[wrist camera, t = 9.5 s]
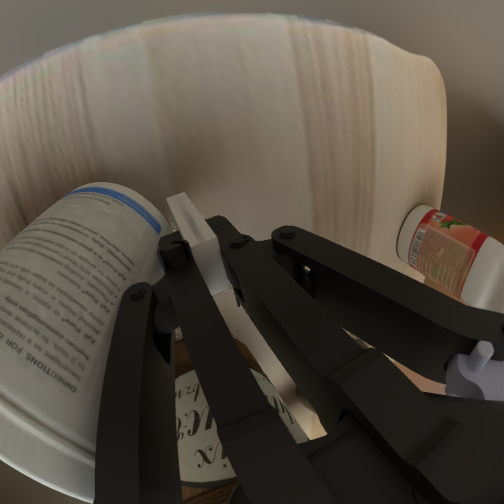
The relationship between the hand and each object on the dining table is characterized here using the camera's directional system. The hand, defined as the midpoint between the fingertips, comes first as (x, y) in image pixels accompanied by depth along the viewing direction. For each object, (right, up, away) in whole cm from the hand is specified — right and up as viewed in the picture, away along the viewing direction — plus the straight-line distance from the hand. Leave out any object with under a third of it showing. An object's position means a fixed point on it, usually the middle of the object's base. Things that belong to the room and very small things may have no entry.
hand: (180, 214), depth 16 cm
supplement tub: (-5, -2, 0) cm, 5 cm away
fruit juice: (+29, +1, +19) cm, 35 cm away
